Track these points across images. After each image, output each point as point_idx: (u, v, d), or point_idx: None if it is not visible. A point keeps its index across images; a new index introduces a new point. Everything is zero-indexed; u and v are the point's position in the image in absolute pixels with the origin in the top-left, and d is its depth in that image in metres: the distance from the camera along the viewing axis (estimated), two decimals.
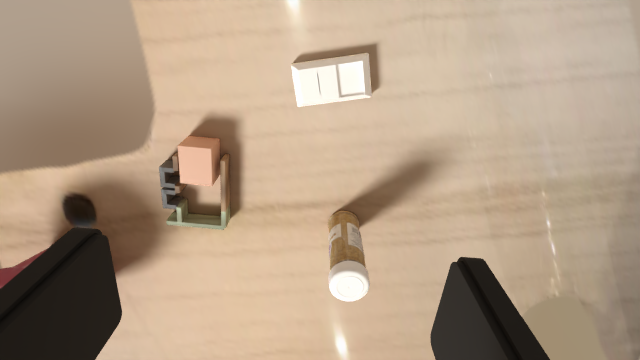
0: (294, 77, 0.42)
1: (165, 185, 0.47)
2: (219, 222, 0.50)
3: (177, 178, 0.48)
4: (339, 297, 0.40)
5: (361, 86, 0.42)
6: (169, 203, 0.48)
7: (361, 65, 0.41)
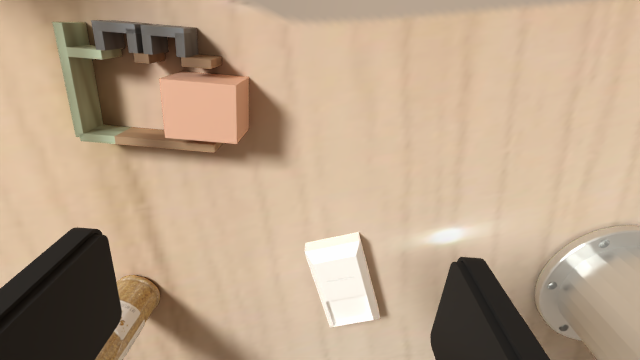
0: (344, 247, 0.31)
1: (145, 35, 0.23)
2: (89, 124, 0.27)
3: (163, 49, 0.25)
4: None
5: (342, 318, 0.34)
6: (105, 34, 0.24)
7: (367, 316, 0.33)
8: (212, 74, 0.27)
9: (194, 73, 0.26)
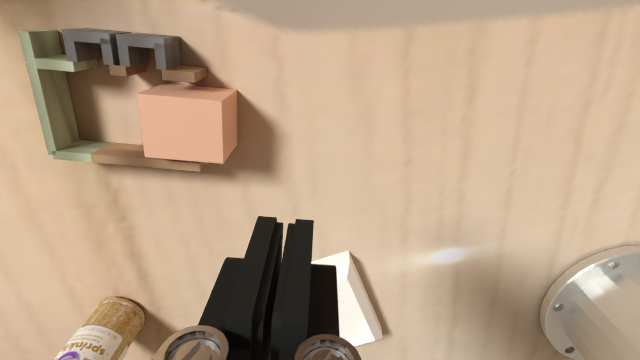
0: None
1: (121, 45, 0.21)
2: (62, 140, 0.25)
3: (142, 59, 0.23)
4: None
5: None
6: (77, 44, 0.22)
7: (368, 337, 0.31)
8: (197, 86, 0.24)
9: (177, 85, 0.24)
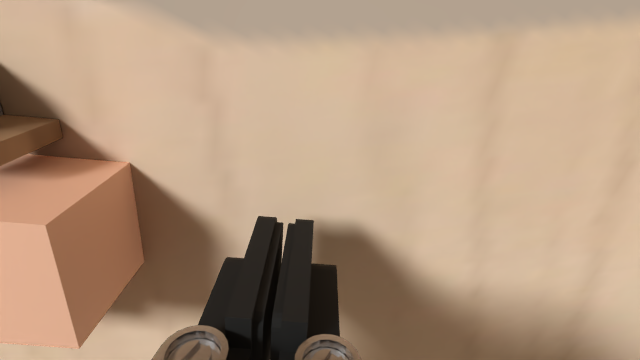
0: None
1: None
2: None
3: None
4: None
5: None
6: None
7: None
8: (42, 159, 0.11)
9: None
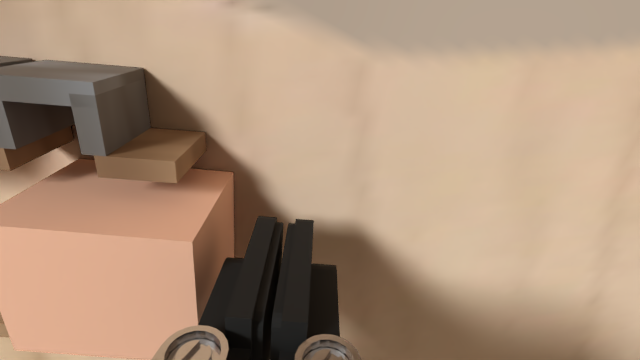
0: None
1: None
2: None
3: (59, 121, 0.10)
4: None
5: None
6: None
7: None
8: None
9: None
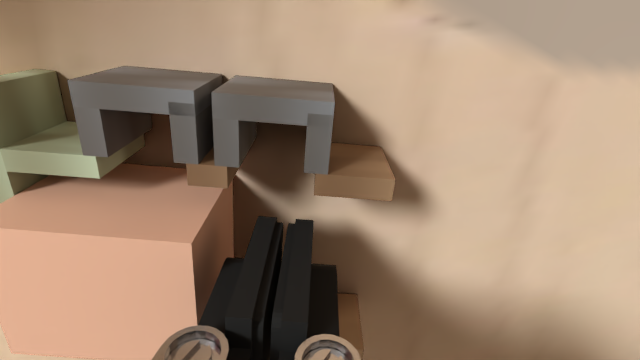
0: None
1: (223, 119, 0.08)
2: None
3: (251, 137, 0.10)
4: None
5: None
6: (108, 113, 0.09)
7: None
8: (145, 170, 0.11)
9: None
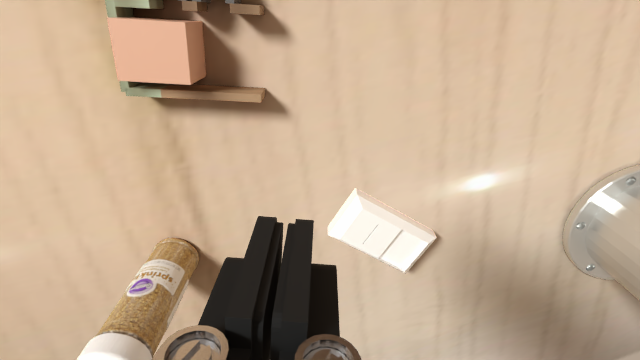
0: (350, 209, 0.32)
1: None
2: None
3: None
4: None
5: (405, 261, 0.34)
6: None
7: (422, 244, 0.33)
8: (165, 19, 0.26)
9: (146, 18, 0.26)
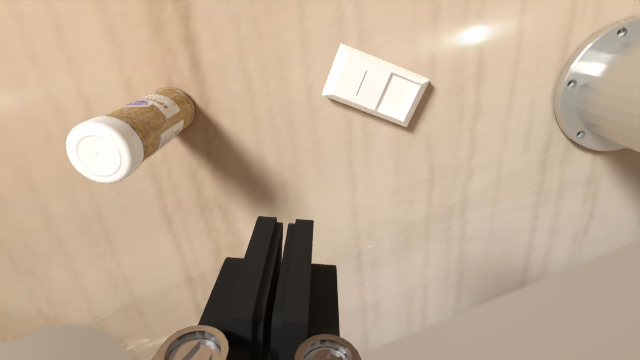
0: (337, 60, 0.33)
1: None
2: None
3: None
4: (71, 140, 0.24)
5: (403, 110, 0.34)
6: None
7: (416, 88, 0.34)
8: None
9: None
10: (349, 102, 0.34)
